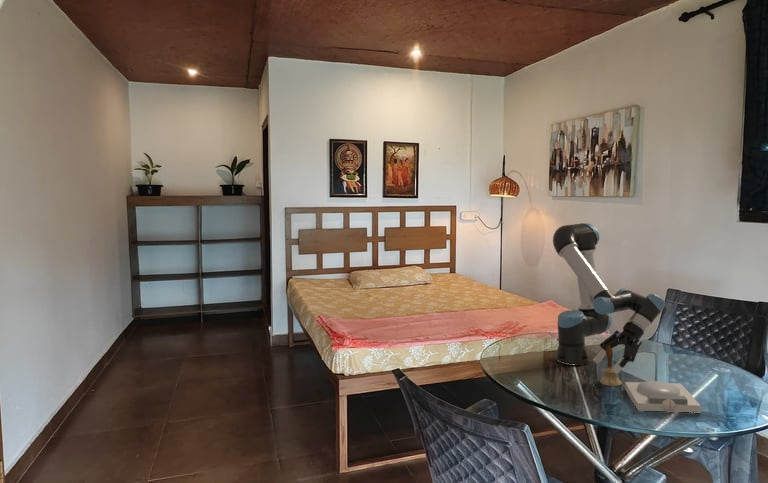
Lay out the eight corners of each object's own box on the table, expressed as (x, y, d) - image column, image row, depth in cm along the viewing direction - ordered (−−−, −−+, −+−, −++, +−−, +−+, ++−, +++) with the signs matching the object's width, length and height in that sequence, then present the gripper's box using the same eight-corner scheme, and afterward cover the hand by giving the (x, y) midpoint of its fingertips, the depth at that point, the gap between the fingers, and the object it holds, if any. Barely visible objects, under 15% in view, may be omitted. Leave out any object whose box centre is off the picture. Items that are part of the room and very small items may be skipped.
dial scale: (638, 411, 173) (637, 398, 172) (625, 389, 193) (624, 377, 192) (701, 414, 168) (700, 400, 167) (681, 390, 187) (680, 378, 187)
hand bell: (616, 388, 195) (614, 349, 193) (596, 382, 201) (594, 345, 200) (625, 382, 200) (624, 344, 198) (605, 377, 206) (604, 341, 205)
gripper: (663, 339, 190) (630, 382, 188) (623, 325, 213) (593, 363, 212) (651, 328, 188) (617, 371, 187) (611, 314, 212) (581, 353, 210)
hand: (604, 367), depth 199 cm, fingers open, 12 cm apart
